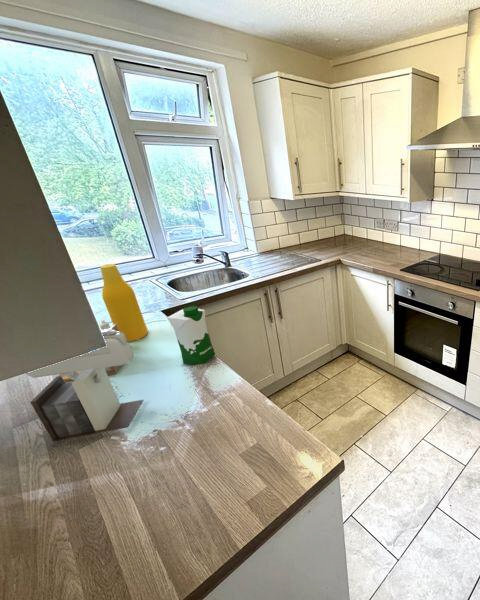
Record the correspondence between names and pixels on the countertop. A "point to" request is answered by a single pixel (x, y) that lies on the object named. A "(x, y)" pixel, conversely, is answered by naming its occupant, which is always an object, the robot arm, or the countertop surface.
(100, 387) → the white book
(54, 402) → the grey book rack
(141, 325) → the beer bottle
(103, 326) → the eye dropper bottle
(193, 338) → the milk carton
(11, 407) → the countertop surface
